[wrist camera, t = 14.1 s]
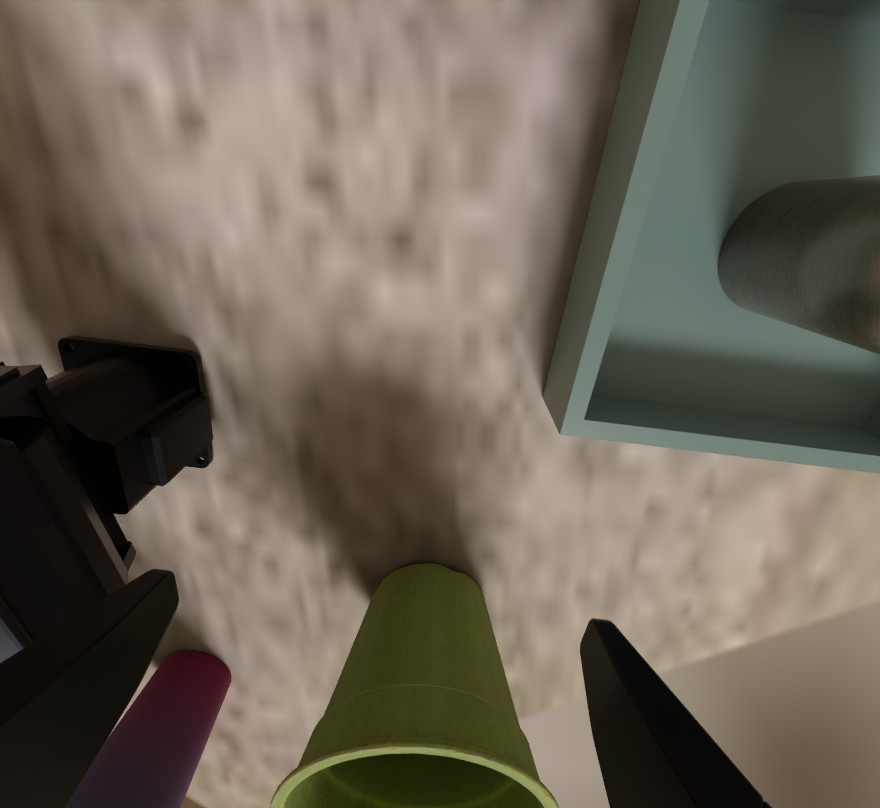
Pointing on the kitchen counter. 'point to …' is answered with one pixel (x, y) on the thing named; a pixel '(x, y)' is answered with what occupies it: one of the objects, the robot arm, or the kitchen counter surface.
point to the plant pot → (419, 709)
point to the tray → (719, 236)
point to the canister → (810, 258)
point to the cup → (158, 737)
